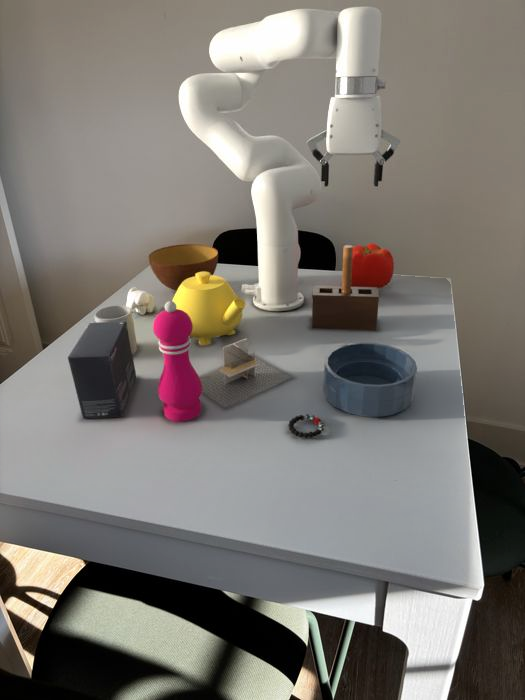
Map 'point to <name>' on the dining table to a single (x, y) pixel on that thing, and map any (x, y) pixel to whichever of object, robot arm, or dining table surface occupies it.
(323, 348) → the dining table surface
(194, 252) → the bowl
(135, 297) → the elephant figurine
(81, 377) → the small box
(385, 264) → the red bell pepper
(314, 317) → the rack
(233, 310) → the teapot
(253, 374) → the napkin holder
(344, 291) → the stick
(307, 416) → the bracelet
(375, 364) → the mixing bowl
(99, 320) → the cup
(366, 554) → the dining table surface
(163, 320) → the pepper mill
